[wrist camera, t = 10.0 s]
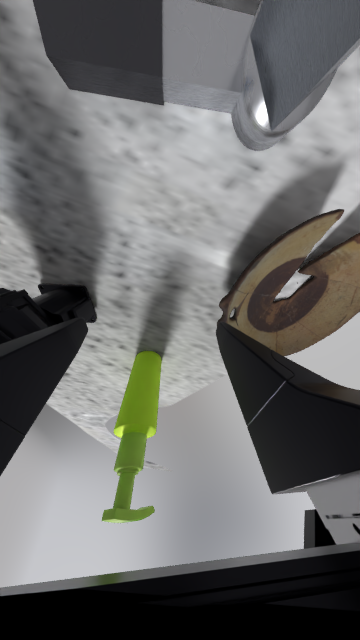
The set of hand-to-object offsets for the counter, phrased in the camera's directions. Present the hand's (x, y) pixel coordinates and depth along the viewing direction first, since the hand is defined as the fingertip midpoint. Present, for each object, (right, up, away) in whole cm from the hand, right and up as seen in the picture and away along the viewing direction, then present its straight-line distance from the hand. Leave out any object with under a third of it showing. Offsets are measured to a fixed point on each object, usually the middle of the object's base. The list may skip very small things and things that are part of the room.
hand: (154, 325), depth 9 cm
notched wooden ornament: (+22, +4, +15) cm, 27 cm away
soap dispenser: (-5, -9, +21) cm, 23 cm away
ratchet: (+3, +21, +2) cm, 22 cm away
